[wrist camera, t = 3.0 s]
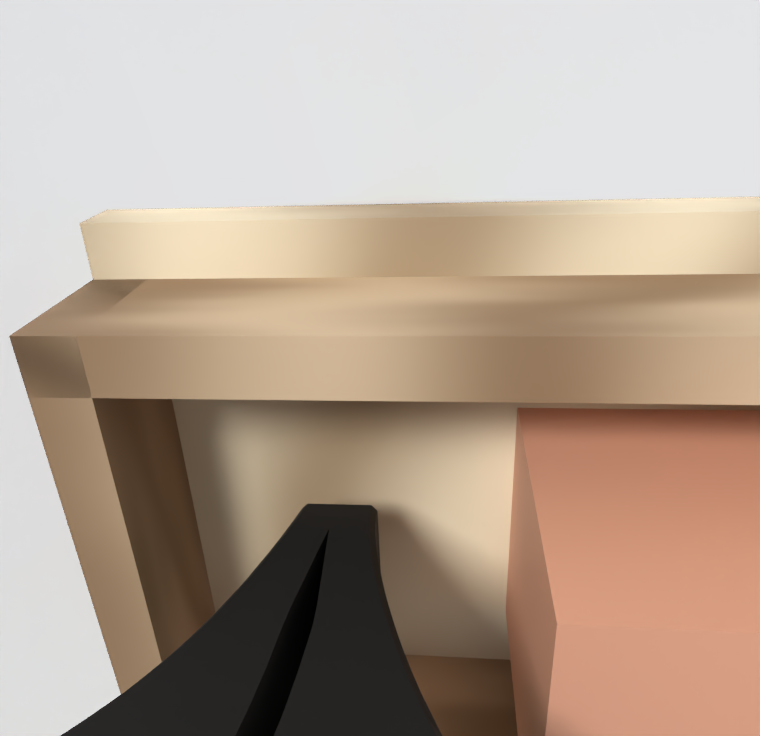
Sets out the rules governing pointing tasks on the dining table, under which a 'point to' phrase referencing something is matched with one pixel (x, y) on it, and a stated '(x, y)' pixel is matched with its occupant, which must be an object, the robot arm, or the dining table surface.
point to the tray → (365, 395)
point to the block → (635, 572)
